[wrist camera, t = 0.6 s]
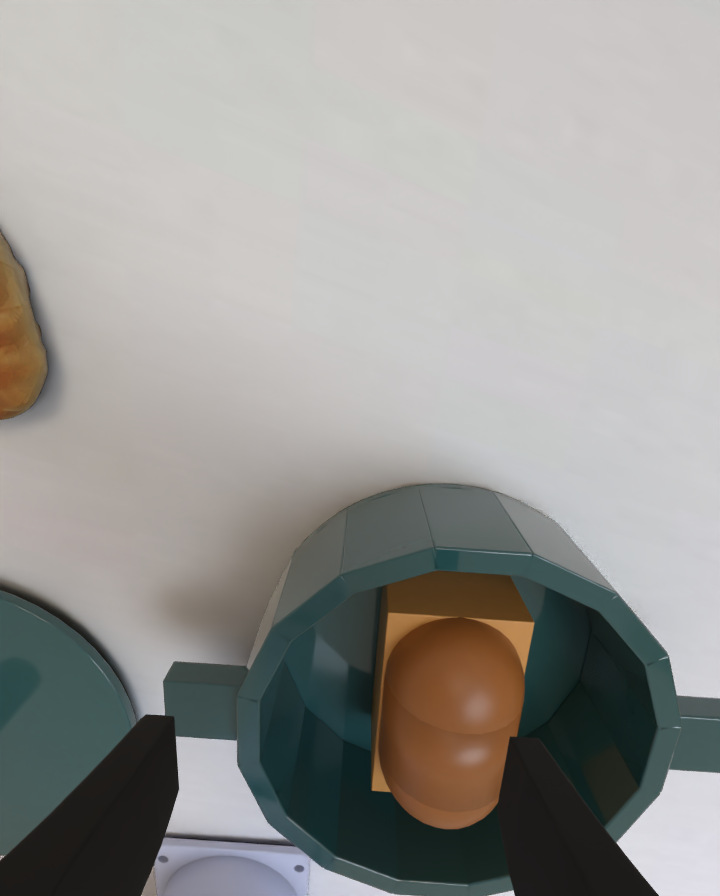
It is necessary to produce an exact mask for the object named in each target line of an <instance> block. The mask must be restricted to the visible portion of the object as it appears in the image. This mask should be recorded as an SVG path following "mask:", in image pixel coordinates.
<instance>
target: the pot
mask: <svg viewBox="0 0 720 896" xmlns="http://www.w3.org/2000/svg"><path fill="white" fill-rule="evenodd" d="M434 571H450V572H465V573H480V574H495V575H510V576H511V578H512V580H513V582H514V584H515V586H516V588H517V590H518V592H519V594H520V596H521V598H522V599H523V601H524V603H525V605H526V607H527V609H528V611H529V613H530V615H531V617H532V619H533V621H534V628H533V634H532V639H531V644H530V649H529V654H528V659H527V664H526V669H525V675H524V678H525V692H524V703H523V708H522V713H521V718H520V723H519V728H518V733H517V737H528V738H539V739H540V741H541V742H542V743H543V744H544V746H545V747H546V748H547V750H548V751H549V753H550V754H551V756H552V757H553V758H554V760H555V761H556V763H557V764H558V765H559V767H560V768H561V770H562V771H563V772H564V774H565V775H566V777H567V778H568V779H569V781H570V782H571V784H572V785H573V786H574V788H575V789H576V790H577V792H578V793H579V794H580V796H581V797H582V799H583V800H584V801H585V803H586V804H587V805H588V807H589V808H590V809H591V811H592V812H593V813H594V815H595V816H596V817H597V819H598V820H599V821H600V823H601V824H602V825H603V827H604V828H605V829H606V830H607V832H608V833H609V834H610V836H611V837H612V838H613V839H614V841H615V842H616V843H617V841H618V840H619V839H620V838H621V837H622V836H623V835H624V834H625V833H626V832H627V830H628V829H629V828H630V827H631V826H632V825H633V824H634V823H635V822H636V820H637V819H638V818H639V817H640V816H641V815H642V814H643V813H644V812H645V810H646V809H647V808H648V807H649V806H650V805H651V804H652V803H653V802H654V800H655V799H656V798H657V797H658V796H659V795H660V792H661V791H662V789H663V786H664V782H665V779H666V776H667V773H668V770H683V771H698V772H712V773H720V698H706V697H691V696H677V695H676V690H675V685H674V680H673V674H672V669H671V664H670V659H669V655H668V654H667V651H666V650H665V649H664V648H663V647H662V645H661V644H660V643H659V642H658V641H657V639H656V638H655V637H654V636H653V635H652V633H651V632H650V631H649V630H648V629H647V627H646V626H645V625H644V624H643V623H642V621H641V620H640V619H639V618H638V617H637V616H636V614H635V613H634V612H633V611H632V610H631V608H630V607H629V606H628V605H627V604H626V602H625V601H624V600H623V599H622V598H621V596H620V595H619V594H618V593H617V592H616V590H615V589H614V588H613V587H612V586H611V585H610V583H609V582H608V581H607V580H606V579H605V578H604V577H603V575H602V574H601V573H600V572H599V571H598V570H597V568H596V567H595V566H594V565H593V564H592V563H591V561H590V560H589V559H588V558H587V557H586V556H585V554H584V553H583V552H582V551H581V550H580V549H579V547H578V546H577V545H576V544H575V543H574V542H573V541H572V539H571V538H570V537H569V536H568V535H567V534H566V532H565V531H564V530H563V529H562V528H561V527H560V525H559V524H558V523H556V521H554V520H552V519H550V518H548V517H546V516H544V515H543V514H541V513H540V512H538V511H537V510H535V509H533V508H531V507H530V506H528V505H526V504H524V503H522V502H521V501H518V500H516V499H513V498H511V497H508V496H506V495H503V494H501V493H498V492H494V491H490V490H486V489H482V488H478V487H472V486H464V485H457V484H425V485H416V486H408V487H402V488H398V489H394V490H390V491H386V492H382V493H379V494H377V495H374V496H371V497H369V498H366V499H364V500H361V501H359V502H357V503H355V504H353V505H351V506H349V507H348V508H346V509H344V510H342V511H340V512H339V513H337V514H336V515H334V516H333V517H332V518H330V519H329V520H327V521H326V522H325V523H323V524H322V525H321V526H320V527H319V528H318V529H316V530H315V531H314V532H313V533H312V534H311V535H310V536H309V537H308V538H307V539H306V540H305V541H304V542H303V544H302V545H301V546H300V547H299V548H298V549H296V551H295V552H294V553H293V555H292V557H291V559H290V561H289V563H288V564H287V566H286V568H285V569H284V571H283V573H282V575H281V578H280V580H279V583H278V585H277V587H276V589H275V591H274V593H273V595H272V597H271V599H270V601H269V603H268V605H267V608H266V611H265V614H264V617H263V619H262V622H261V625H260V628H259V631H258V634H257V637H256V640H255V643H254V646H253V649H252V651H251V654H250V657H249V660H248V663H247V666H237V665H222V664H207V663H192V662H178V661H175V662H173V664H172V666H171V668H170V670H169V671H168V673H167V675H166V677H165V679H164V681H163V687H164V702H165V716H174V721H175V736H179V737H193V738H208V739H223V740H237V763H238V767H239V769H240V771H241V773H242V775H243V777H244V778H245V780H246V782H247V784H248V786H249V788H250V790H251V792H252V794H253V796H254V797H255V799H256V801H257V803H258V805H259V807H260V809H261V811H262V813H263V815H264V816H265V818H266V820H267V822H268V823H269V824H270V825H271V826H272V827H273V828H274V829H276V830H277V831H278V832H279V833H280V834H282V835H283V836H284V837H285V838H287V839H288V840H289V841H290V842H291V843H293V844H294V845H295V846H296V847H298V848H299V849H300V850H301V851H303V852H304V853H305V854H306V855H307V856H309V857H310V858H311V859H312V860H314V861H315V862H316V863H317V864H319V865H320V866H321V867H323V868H324V869H326V870H329V871H332V872H334V873H337V874H340V875H342V876H345V877H348V878H351V879H353V880H356V881H359V882H361V883H364V884H367V885H369V886H372V887H375V888H378V889H380V890H383V891H386V892H388V893H394V894H397V895H411V896H489V895H493V894H498V893H503V892H508V891H513V886H512V882H511V879H510V875H509V871H508V867H507V862H506V857H505V851H504V846H503V841H502V835H501V829H500V824H499V818H498V812H497V805H498V803H497V805H496V806H495V807H494V809H493V810H492V811H491V812H490V813H489V814H488V815H487V816H486V817H485V818H483V819H482V820H480V821H478V822H476V823H474V824H472V825H470V826H468V827H464V828H460V829H441V828H435V827H433V826H430V825H427V824H425V823H423V822H421V821H419V820H418V819H416V818H414V817H413V816H412V815H410V814H409V813H408V812H407V811H406V810H404V808H403V807H402V806H401V805H400V804H399V802H398V801H397V800H396V799H395V797H394V796H393V794H392V793H391V792H384V791H372V790H371V710H372V699H373V687H374V676H375V665H376V653H377V642H378V630H379V619H380V608H381V596H382V586H385V585H388V584H392V583H395V582H399V581H402V580H406V579H409V578H413V577H416V576H420V575H423V574H427V573H430V572H434Z"/></svg>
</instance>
